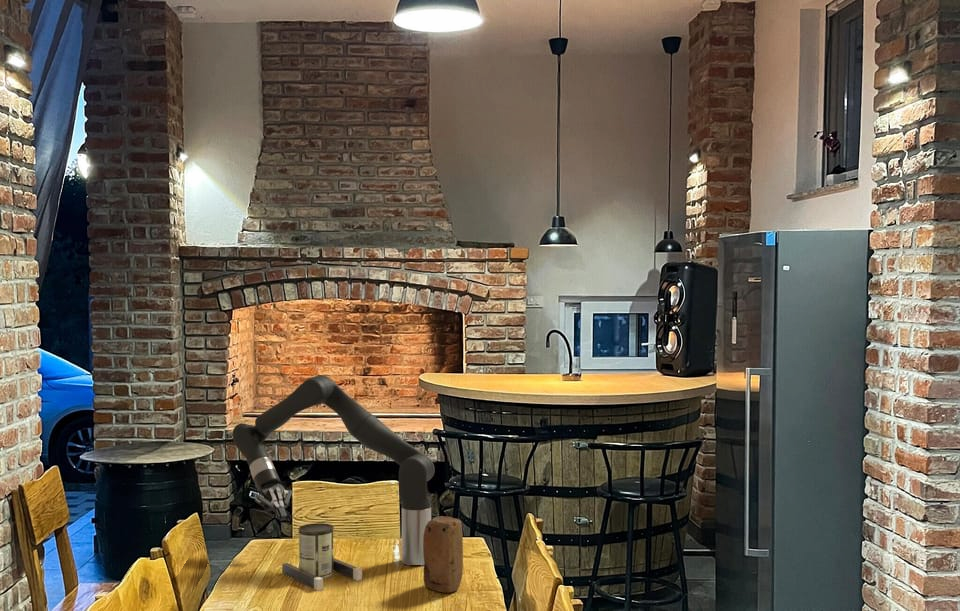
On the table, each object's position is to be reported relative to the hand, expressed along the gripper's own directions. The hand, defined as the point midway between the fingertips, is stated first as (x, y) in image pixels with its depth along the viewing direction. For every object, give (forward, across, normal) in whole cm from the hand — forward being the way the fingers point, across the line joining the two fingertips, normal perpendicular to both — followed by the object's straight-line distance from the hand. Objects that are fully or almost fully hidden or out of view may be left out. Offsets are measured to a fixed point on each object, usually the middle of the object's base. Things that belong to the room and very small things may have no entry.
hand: (283, 519), depth 276 cm
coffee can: (+23, 0, -5) cm, 24 cm away
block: (+48, +20, -29) cm, 60 cm away
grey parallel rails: (+25, 0, -7) cm, 26 cm away
